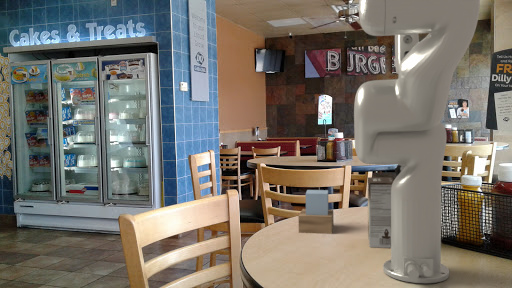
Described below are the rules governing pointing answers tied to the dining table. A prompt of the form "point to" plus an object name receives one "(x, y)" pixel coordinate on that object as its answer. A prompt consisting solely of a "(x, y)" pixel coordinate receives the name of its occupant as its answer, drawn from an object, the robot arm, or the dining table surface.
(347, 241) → the dining table surface
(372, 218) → the coffee box
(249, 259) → the dining table surface
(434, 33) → the robot arm
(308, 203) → the slate cube
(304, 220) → the walnut block
